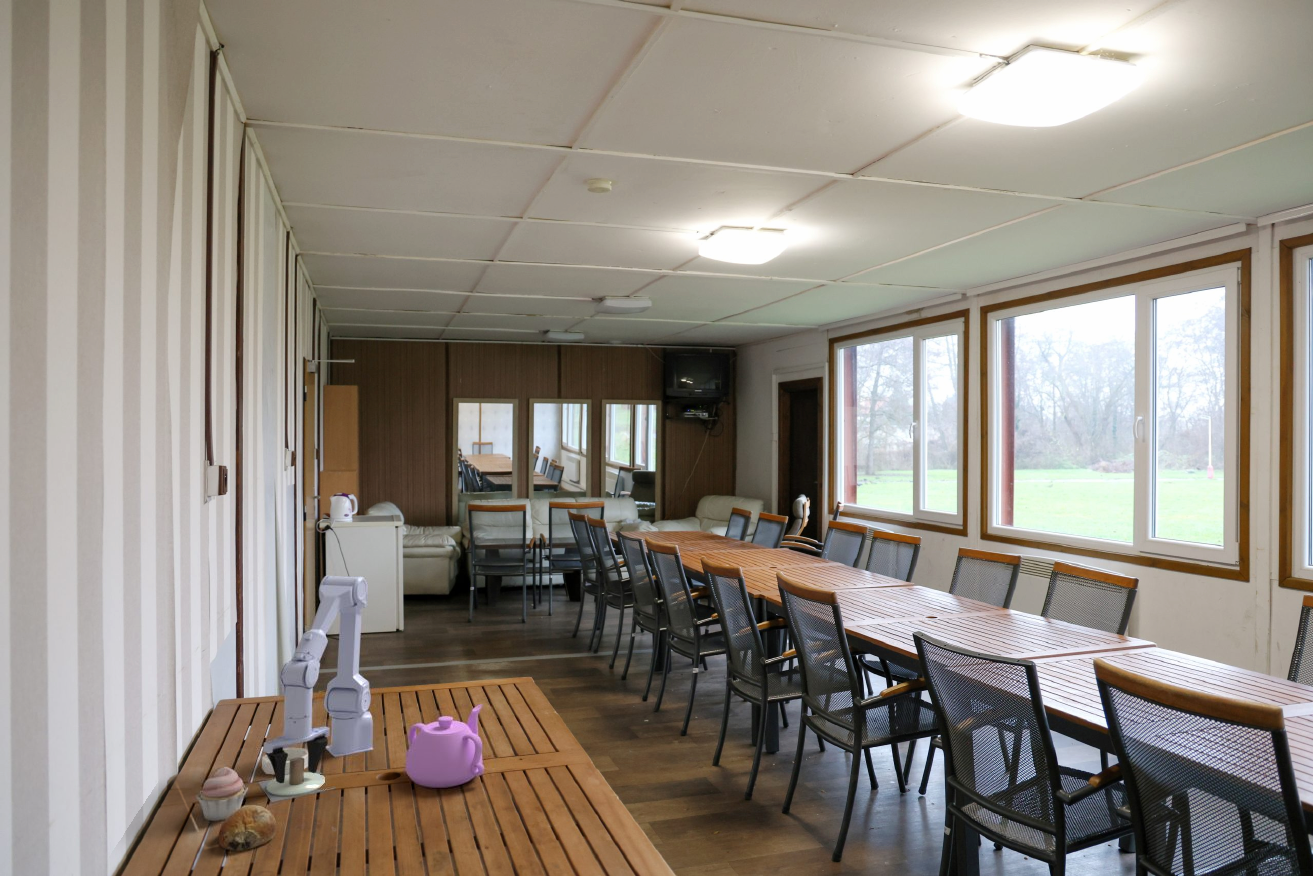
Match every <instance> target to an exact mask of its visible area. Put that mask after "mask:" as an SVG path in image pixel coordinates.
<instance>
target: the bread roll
mask: <svg viewBox="0 0 1313 876" xmlns="http://www.w3.org/2000/svg"><path fill="white" fill-rule="evenodd" d="M276 833H277V821H276V818H275V817H274V814H272V812H271V811H270V810H268V808H265V807H263V806H262V805H255V804H253V805H252V804H251V805H250V804H249V805H243V806H241V808H240V809H238V810H236V811H235V812H233V813H232V814H231V815H230V816H229V817H228V818H226V819H225V820H223V822H222V824H221V825H220V828H219V831H218V844H219V845H220V846H221V847H222V849H224V850H229V851H238V852H239V851H246V850H250V849H254V848H257V847H260V846H263V845H265V844H267V843H268V842H270V841H271V840H272V839H274V837H275V835H276Z"/></svg>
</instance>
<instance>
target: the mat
mask: <svg viewBox="0 0 1313 876" xmlns="http://www.w3.org/2000/svg"><path fill="white" fill-rule="evenodd" d="M308 772H309V771H308ZM309 773H312V772H309ZM316 773H317V774H323V773H322V772H321V771H320V770H319V769H317V771H316ZM273 779H274V778H271V779H267V780H263V781H258V782H257V783H258V785H259V786H260V788H261V789H262V790H263V792H264V793H265V795H266V796H267V798H268V799H269V801H270V802H271V803H276V802H280V801H281V802H282V801H284V800H289V799H294V798H295V799H296V798H298V797H304V796H308V795H312V794H317V793H323V792H327V791H331V790H335V789H336V788H335V787H334V788H331V789H325V790H324V789H323V790H316V791H313V792H311V793H307V794H303V795H297V796H276V795H272V794H270V793H268V792H267V784H268V783H269V782H270V781H271V780H273Z"/></svg>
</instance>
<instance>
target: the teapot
mask: <svg viewBox="0 0 1313 876" xmlns="http://www.w3.org/2000/svg"><path fill="white" fill-rule="evenodd" d="M482 708H483V704H478V705H476V706H475V707H474V708H472V710H471V712H470V713H469V717H468V718H467V719H468V720H467V723H465V722H463V721H458V720H454V717H452V716H447V715H446V716H445V715H444V716H443V715H442V716H440V717H437V721H433V722H430V723H428V724H424V723H415V724H414V725H412V726H411V727H410V728H409V731H408V741H409V749H407V751H406V753H405V757H406V760H405V772H406V774H407V775H408V777H409V778H410V779H411V781H413V782H414V783H415V784H416V785H419V786H423V787H427V788H440V789H441V788H445V789H447V788H450V787H456V786H459V785H463V784H465V783H468V782H469V781H472V780H473V778H474V777H479V776H482V775H483V774H484V772H485V766H484V764H483V754H482V752H483V742H482V739H481V737H480V736H479V727H478V725H479V724H478V718H479V717H478V716H479V714H480V711H481V709H482ZM417 729H418V730H420V731H419V732H418V734H417Z"/></svg>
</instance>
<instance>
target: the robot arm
mask: <svg viewBox="0 0 1313 876" xmlns="http://www.w3.org/2000/svg"><path fill="white" fill-rule="evenodd" d="M368 588H369V585H368V583H367V581H366V578H364V577H363V576H342V575H337V576H335V575H329V574H328V575H325V576H324V577H323V578H322V580H321V582H320V584H319V588H318V597H319V601H320V603H319V606H318V608H317V611H316V614H315V617H314V619H313V623H312V625H311V627H310V630H308V631H305V632H304V633H303V634H302V637H301V638H300V641H299V642H298V645H297V647H296V649H295V651H294V653H293V655H292V658H291V659H290V660H289V661H288V662H285V663H284V664H283V666H281V667H282V668H281V670H280V674H279V678H278V679H279V683H280V686H281V693H282V695H283V696H284V709H283V710H284V711H283V712H284V713H283V715H284V716H283V734H282V735H280V736H278V737H276V738H273V739H270V740H269V741H265V742H263V753H265V755H267V756H268V758H269V760H270V762H271V764H272V766H273V769H274V773H275V774H274V777H275V778H276V782H279V783H284V780H285V775H286V774H285V765H286V760H287V757H288V753H285V752H284V750H283V749H285V748H290V747H292V746H295V745H299V744H303V743H306V746H307V747H306V749H307V750H308V767H307V769H308V771H307V772H312V773H316V771H317V770H318V766H319V763H320V760H321V757H322V755H323V752H325V751H324V750H325V749H326V750H327V751H328V752H329V753H330V754H331V755H332V756H333V758H337V757H343V756H348V755H353V754H357V753H358V754H359V753H362V752H363V753H364V752H368V751H373V750H374V748H373V737H374V735H373V734H374V733H373V732H374V730H373V729H374V721H373V716H372V714H371V712H370V711H368V709H369V708H370V704H371V697H372V696H371V691H370V682H369V680H367V679H366V678H364V677H363V676H362V675H361V674H360V673H359V671H360V670H359V669H360V668H359V667H360V652H361V651H360V650H361V636H362V635H361V630H362V613H363V612H362V611H363V609H364V608H367V606H368V592H369V589H368ZM339 613H340V614H339ZM338 614H339V615H340V617H339V618H340V619H339V636H338V637H339V639H338V650H337V651H338V652H337V653H338V655H337V670H336V671H337V673H336V676H334V678H332V679H331V680H330V681H329V682H328V683H327V684H326V685H327V687H326V693H325V696H324V697H323V698H324V699H323V707H324V709H325V711H326V712H327V713H328V716H329V717H331V734H330V727H328V726H325V725H324V726H320V727H314V728H312V727H313V721H312V720H313V695H314V694H313V693H314V691H313V690H314V688H313V687H314V686H315V685H316V683H317V681H318V679H319V675H320V674H319V672H320V667H321V659H322V656H323V654H324V652H325V650H326V647H327V646H328V645H327V644H328V642H329V640H328V638H327V636H326V635H327V633H328V631H329V630H330V628H331V627H332V625H333V623H334V621H335V619H336V617H337V615H338ZM330 735H331V736H330ZM328 737H331V739H330V742H331V743H330V745H328V744H329V739H327V738H328Z"/></svg>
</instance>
